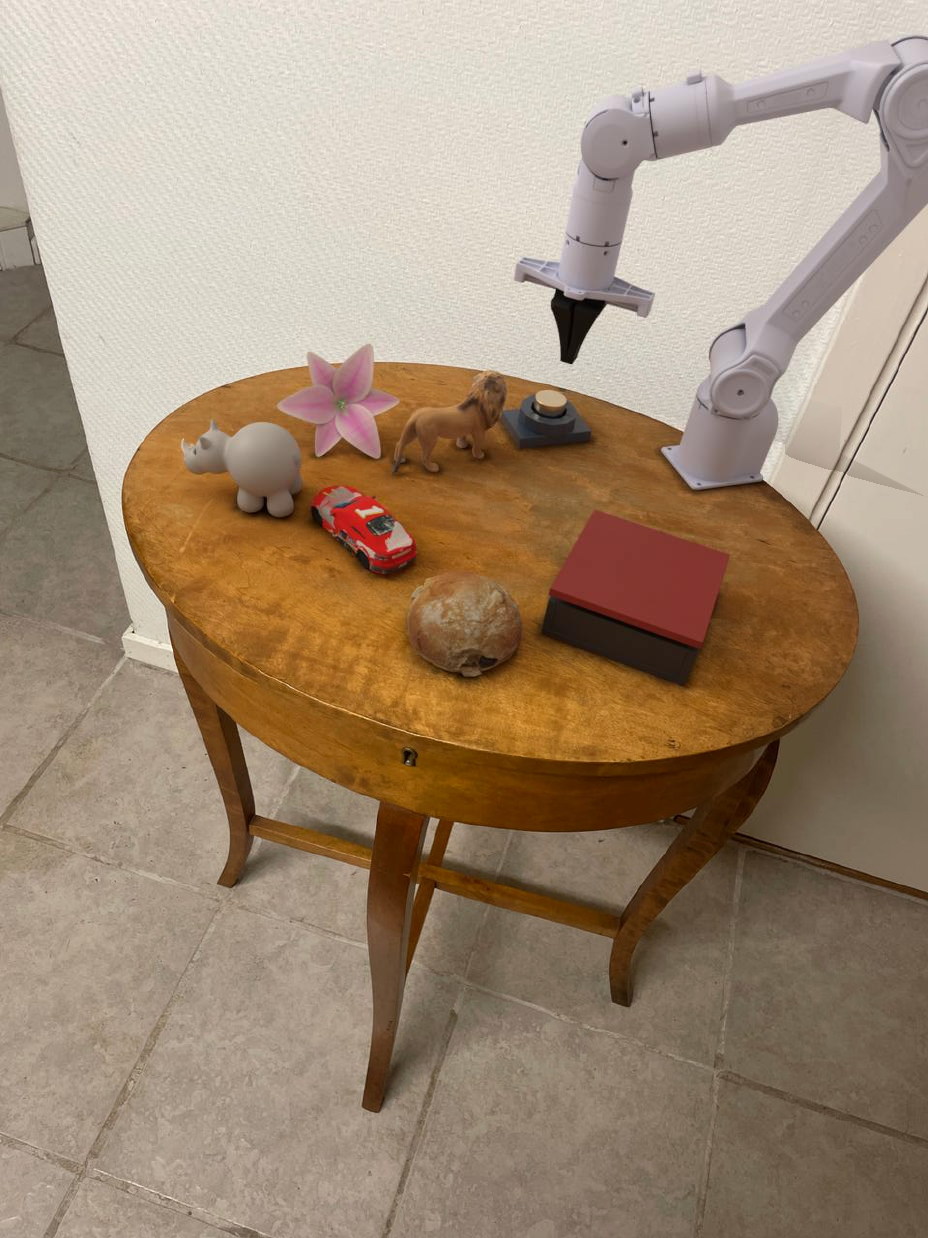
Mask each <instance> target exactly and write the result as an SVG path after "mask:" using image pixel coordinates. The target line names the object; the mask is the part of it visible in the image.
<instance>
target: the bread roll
mask: <svg viewBox="0 0 928 1238" xmlns="http://www.w3.org/2000/svg"><path fill="white" fill-rule="evenodd" d="M410 600H411V601H412V600H413V601H412V603H411V604H410V606H409V610H408V613H407V615H406V622H407V625H406V626H407V632H406V635H407V636H408V637H407V638H408V640H409V642H410V644H411V646H412V649H413V650H414V652H416V653H418V655H419V656H421V658H423V660H425V661H426V662H429V663H431V664H432V665H434V666H435V667H436V668H439V669H441V670H444V671H447V672H451V673H460V674H461V675H462V676H463V677H464V678H474V677H477V676H480V675H483V673H482V672H484V671H488V670H490V669H492V668H494V667H497V666H498V665H499V664H500V663H504V662H506V660H508V659H510V658H512V656H513V655H514V654H515V653H516V651H517V649H518V647H519V646H520V645H519V644H520V643H521V639H522V634H523V625H522V618H521V617H522V616H521V613H520V609H519V606H518V605H517V602H516V601H515V599H514V598H513V596H511V594H510V593H509V592H508V591H507V590H506V589H505V588H504V587H503V586H502V585H501V584H500V583H498V582H496V581H494V580H493V579H490V578H488V577H486V576H484V575H481V574H478V573H476V572H473V571H466V570H465V571H463V570H452V571H448V572H443V573H441V574H437V575H435V576H432V577H427V578H425V581H424V583H423V585H419V586H417V587H416V588H415V590H414V591H413V592H412V594H411V597H410Z"/></svg>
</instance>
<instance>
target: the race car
mask: <svg viewBox="0 0 928 1238" xmlns="http://www.w3.org/2000/svg"><path fill="white" fill-rule="evenodd" d="M376 498H377V496H376V495H372V496H367V495H365V494H363V493H362V492H361V491H359V489H357V488H355V487H352V486H349V485H331V486H326V487H324V488H322V489H320V490H319V491H318V492H317V494H316V495H315V496H314V497H313V499H312V501H311V504H310V514H311V516H312V518H313V520H314V522H315V523H316V524H317V525H318V526H322V527H323V528H324V529H325V530H326V531H327V532H328V533H329V534H330V535H331V536H333V538H334V539H336V540H337V541H338V542H339V543H340V544H341V545H342V546H343V547H344V548H345V549H346V550H348V552H349V553H351V554H352V555H353V556H354V557H355V558H357V559H358V562H359V563H360V565H361V566H362V567H363V568H364V569H369V570H370V571H371V572H374V573H377V574H381V575H388V574H390V575H392V574H394V573H395V572H398V571H401V570H402V569H405V568H406V567H409V566H410V565H413V564H415V561H416V560H417V555H418V548H417V544H416V541H415V538H414V537H413V536H412V534H411V533H410V532H409V531H408V530H407V529H406V528H405V527H404V526H403V525H402V524H401V522H400V521H398V520H397V519H396V518H395V516H394V515H392V514H391V512H390V511H389V510H388V509H386V508H385V507H384V506H383V505H381V503H379V502H378V501H377V500H376Z"/></svg>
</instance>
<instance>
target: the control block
mask: <svg viewBox="0 0 928 1238" xmlns="http://www.w3.org/2000/svg"><path fill="white" fill-rule="evenodd" d="M536 394H537V393H533V394H530V395H528V396H527V397H525V398H523V399H522V401H521V404H520V408H513V409H512V408H511V409H503V410H502V412H501V414H500V422H501V423H502V424H503V426H504V428H505V429H506V431H507V433H508V434H509V435H510V437H511V438H512V440H513V442H514V443H515V445H516V446H517V447H518V449H527V448H535V447H544V446H554V445H562V444H563V445H564V444H571V443H572V444H573V443H581V442H589V441H590V439H591V434H592V430H591V428H590V427H589V426H588V424H587V423H586V422H585V420H584V419H583V418H582V416H581V415H580V413H579V412H578V409H577V408H576V407H575V406H574V404H573V403H572V402H571V401H570V400H568V399H566V400H567V401H566V406H565V411H564V415H563V416H562V417H561V418H558V419H549V418H544V417H541V416H539V415H537V414H535V413H534V411H533V407H534V402H535V396H536Z"/></svg>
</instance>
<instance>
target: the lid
mask: <svg viewBox="0 0 928 1238" xmlns="http://www.w3.org/2000/svg"><path fill="white" fill-rule="evenodd" d="M730 556H731V554H730V553H726V552H723V551H720V550H717V549H714V548H711V547H708V546H705V545H702V544H700V543H697V542H693V541H691V540H687V539H684V538H681V537H678V536H676V535H672V534H670V533H666V532H664V531H660V530H657V529H654V528H652V527H648V526H645V525H642V524H640V523H637V522H634V521H630V520H628V519H625V518H622V517H619V516H617V515H613V514H609V513H606V512H604V511H601V510H597V509H593V511H592V512H591V515H590V516H589V518H588V520H587V522H586V523H585V525H584V527H583V529H582V531H580V534H579V536H578V538H577V540H576V542H575V543H574V545H573V547H572V548H571V550H570V552H569V554H568V556H567V557H566V560H565V561H564V563H563V565H562V566H561V568H560V570H559V572H558V573H557V575H556V577H555V579H554V581H553V582H552V583H551V586H550V588H549V591H548V596H549V597H550V596H553V597H556V598H559V599H561V600H564V601H567V602H570V603H573V604H575V605H578V606H581V607H584V608H586V609H589V610H592V611H595V612H598V613H600V614H603V615H606V616H609V617H612V618H614V619H617V620H620V621H623V622H625V623H628V624H631V625H634V626H637V627H639V628H642V629H645V630H648V631H651V632H653V633H656V634H659V635H662V636H665V637H667V638H670V639H673V640H676V641H678V642H681V643H684V644H687V645H690V646H692V647H695V648H698V649H699V650H701V648H702V646H703V644H704V641H705V637H706V634H707V630H708V627H709V624H710V622H711V618H712V614H713V612H714V608H715V605H716V602H717V600H718V599H717V598H718V595H719V592H720V588H721V586H722V582H723V579H724V576H725V573H726V569H727V566H728V563H729V560H730V558H731V557H730Z"/></svg>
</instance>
